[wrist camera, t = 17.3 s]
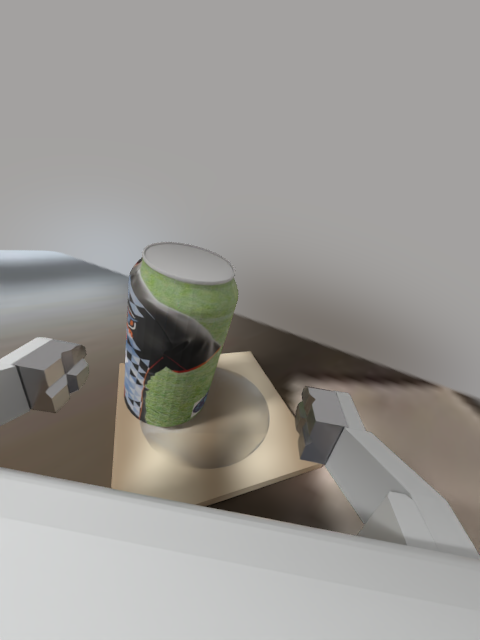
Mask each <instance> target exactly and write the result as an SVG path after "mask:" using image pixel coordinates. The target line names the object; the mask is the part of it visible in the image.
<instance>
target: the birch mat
mask: <svg viewBox="0 0 480 640" xmlns="http://www.w3.org/2000/svg"><path fill="white" fill-rule="evenodd" d="M124 380H125V363H120V367H119V382H118V396H117V411H116V426H115V440H114V455H113V470H112V484H111V489H117V490H122V491H127V492H132V493H137V494H143V495H148V496H153V497H158V498H163V499H168V500H174V501H179V502H184V503H189V504H194V505H200V506H208V505H211V504H214V503H217V502H220V501H223V500H226V499H229V498H232V497H235V496H238V495H241V494H244V493H247V492H250V491H253V490H256V489H259V488H262V487H264V486H267V485H270V484H273V483H276V482H279V481H282V480H285V479H288V478H291V477H294V476H297V475H300V474H303V473H306V472H309V471H312V470H315V469H318V468H321V467H322V465H323V464H319V463H314V462H310V461H305V460H301V459H300V456H299V449H298V442H297V441H298V438H299V436H300V435H299V433H298V432H297V431H296V426H295V418H294V416H293V415H292V413H291V412H290V410H289V409H288V407H287V406H286V404H285V403H284V401H283V400H282V398H281V397H280V395H279V394H278V392H277V391H276V389H275V388H274V386H273V385H272V383H271V382H270V380H269V379H268V377H267V376H266V374H265V373H264V371H263V370H262V368H261V367H260V365H259V364H258V362H257V361H256V359H255V358H254V356H253V355H252V353H251V352H250V351H248V352H237V353H227V354H220V357H219V360H218V364H217V367H216V370H215V373H214V376H213V379H212V383H211V386H210V389H209V392H208V395H207V398H206V401H205V404H204V406H203V408H202V409H201V411H200V412H199V413H198V414H197V415H196V416H195V417H194V418H192V419H191V420H189V421H187V422H185V423H183V424H180V425H176V426H170V427H158V426H153V425H149V424H147V423H144V422H142V421H140V420H139V419H137V418H136V417H135V416H134V415H132V414H131V412H130V411H129V409H128V408H127V406H126V404H125V400H124Z"/></svg>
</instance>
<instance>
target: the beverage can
mask: <svg viewBox="0 0 480 640" xmlns="http://www.w3.org/2000/svg"><path fill="white" fill-rule="evenodd" d="M234 276H235V269H234V267H233V265H232V264H231V263H230V262H229V261H228V260H226V259H225V258H223V257H222V256H220V255H218V254H216V253H214V252H212V251H209V250H207V249H204V248H200V247H197V246H193V245H189V244H183V243H174V242H173V243H172V242H161V243H154V244H151V245H148V246H147V247H146V248H144V250H143V252H142V258H141V259H140V260H139V261H138V262H137V263H136V264H135V265H134V267H133V268H132V270H131V272H130V275H129V287H128V310H127V334H126V357H125V380H124V400H125V404H126V406H127V408H128V409H129V411H130V412H131V414H132V415H134V416H135V417H136V418H137V419H139V420H140V421H142V422H144V423H147V424H149V425H153V426H158V427H170V426H176V425H180V424H183V423H185V422H187V421H189V420H191V419H192V418H194V417H195V416H196V415H197V414H198V413H199V412H200V411H201V409H202V408H203V406H204V404H205V401H206V398H207V395H208V392H209V389H210V386H211V383H212V379H213V376H214V373H215V370H216V367H217V364H218V360H219V357H220V354H221V351H222V348H223V345H224V342H225V338H226V335H227V332H228V329H229V326H230V323H231V320H232V316H233V313H234V310H235V307H236V304H237V301H238V289H237V285H236V282H235V280H234Z"/></svg>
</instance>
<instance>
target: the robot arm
mask: <svg viewBox="0 0 480 640" xmlns="http://www.w3.org/2000/svg"><path fill="white" fill-rule="evenodd" d="M86 355H87V354H86V350H85V347H84V346H82V345H80V344H75V343H70V342H65V341H60V340H54V339H50V338H45V337H38V338H35V339H33V340H32V341H30V342H28V343H27V344H25V345H23V346H22V347H20V348H18V349H17V350H15V351H13V352H12V353H10V354H8V355H7V356H5V357H3V358H1V359H0V426H1V425H3V424H5V423H7V422H9V421H11V420H13V419H15V418H17V417H19V416H21V415H23V414H25V413H26V412H28V411H30V409H32V410H39V411H45V412H51V413H56V412H57V411H58V410H59V409H60V408H61V407H62V406H63V405H64V404H65V403H66V402H67V401H68V400H69V399H70V393H72V392H74V391H77V390H79V389H80V388H81V387H82V386H83V385H84V384H85V382H86V380H87V378H88V374H89V367H88V364H87V363H86V361H85V360H84V357H85V356H86ZM302 399H303V401H302V402H300V403H298V406H297V410H296V416H295V426H296V431H297V432H298V433H299V435H300V436H299V438H298V441H297V442H298V449H299V456H300V459H301V460H305V461H310V462H314V463H319V464H324V465H325V467H326V468H327V470H328V471H329V473H330V474H331V476H332V477H333V479H334V480H335V482H336V483H337V485H338V486H339V488H340V489H341V491H342V492H343V494H344V495H345V497H346V498H347V500H348V501H349V503H350V504H351V506H352V507H353V508H354V510H355V511H356V513H357V514H358V516H359V517H360V519H361V520H362V522H363V523H364V527H363V528H362V529H361V531H360V532H359V533H358V535H357V536H355V535H350V534H345V533H339V532H334V531H329V530H324V529H319V528H314V527H308V526H303V525H298V524H293V523H288V522H283V521H277V520H272V519H267V518H262V517H257V516H251V515H246V514H241V513H236V512H231V511H226V510H220V509H215V508H210V507H205V506H200V505H194V504H189V503H184V502H179V501H174V500H168V499H163V498H158V497H153V496H148V495H143V494H137V493H132V492H127V491H122V490H117V489H111V488H106V487H101V486H96V485H91V484H85V483H80V482H75V481H70V480H65V479H59V478H54V477H49V476H44V475H39V474H33V473H28V472H23V471H18V470H13V469H8V468H2V467H0V640H480V555H479V553H478V552H477V550H476V548H475V547H474V545H473V543H472V542H471V540H470V538H469V537H468V535H467V533H466V532H465V530H464V528H463V527H462V525H461V523H460V522H459V520H458V519H457V517H456V515H455V514H454V512H453V510H452V509H451V507H450V505H449V504H448V502H447V501H446V500H445V499H444V498H443V497H442V496H441V495H440V494H439V493H438V492H436V491H435V490H434V489H433V488H432V487H431V486H430V485H429V484H428V483H427V482H425V481H424V480H423V479H422V478H421V477H420V476H419V475H418V474H417V473H415V472H414V471H413V470H412V469H411V468H410V467H409V466H408V465H407V464H406V463H404V462H403V461H402V460H401V459H400V458H399V457H398V456H397V455H396V454H394V453H393V452H392V451H391V450H390V449H389V448H388V447H387V446H386V445H385V444H383V443H382V442H381V441H380V440H379V439H378V438H377V437H376V436H375V435H373V434H372V433H371V432H368V431H366V430H365V427H364V425H363V423H362V421H361V418H360V416H359V414H358V412H357V409H356V407H355V405H354V403H353V400H352V398H351V396H350V395H349V394H348V393H345V392H338V391H330V390H325V389H319V388H313V387H308V386H305V388H304V389H303V392H302Z"/></svg>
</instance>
